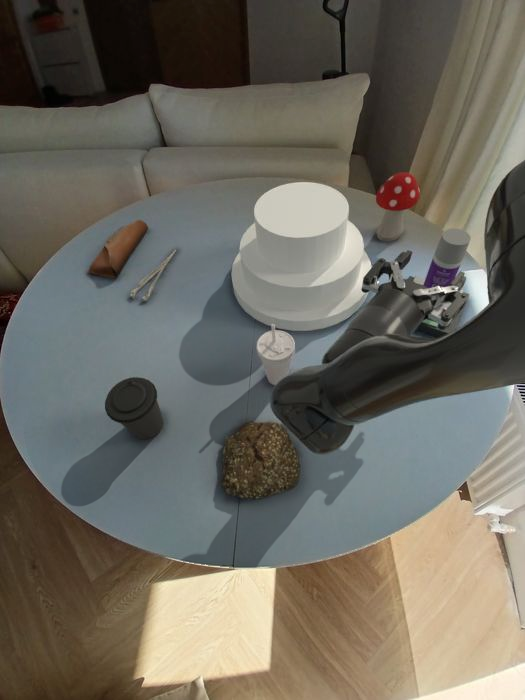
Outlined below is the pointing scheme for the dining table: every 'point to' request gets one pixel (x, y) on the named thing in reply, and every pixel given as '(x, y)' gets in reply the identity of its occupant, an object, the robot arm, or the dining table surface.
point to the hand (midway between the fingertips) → (434, 265)
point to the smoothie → (276, 353)
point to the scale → (432, 326)
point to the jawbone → (149, 276)
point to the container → (447, 258)
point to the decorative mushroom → (396, 204)
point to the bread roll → (259, 461)
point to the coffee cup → (135, 407)
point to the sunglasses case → (118, 250)
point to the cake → (301, 259)
